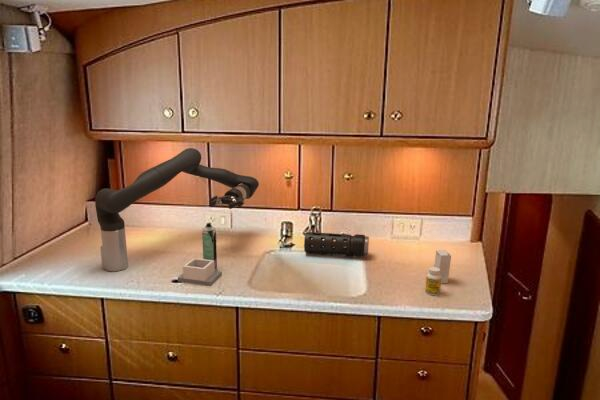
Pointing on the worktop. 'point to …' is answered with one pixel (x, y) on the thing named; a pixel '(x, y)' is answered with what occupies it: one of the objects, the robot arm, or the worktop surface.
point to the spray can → (209, 243)
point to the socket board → (199, 272)
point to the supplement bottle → (433, 281)
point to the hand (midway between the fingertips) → (220, 205)
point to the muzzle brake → (336, 244)
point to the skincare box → (443, 264)
